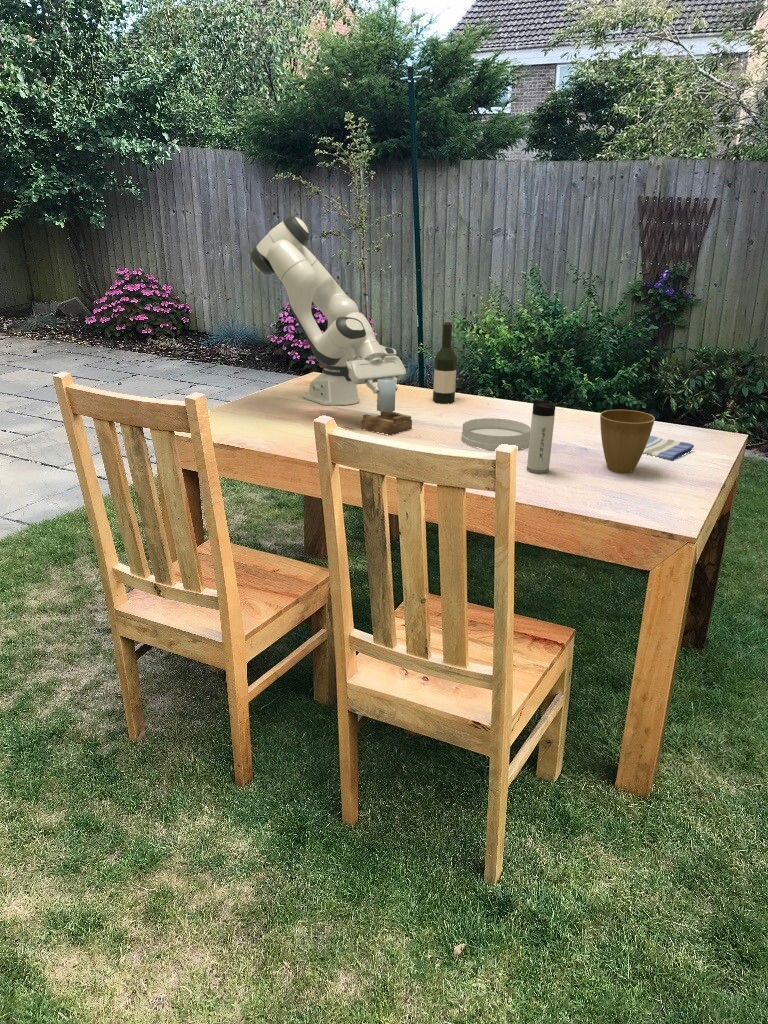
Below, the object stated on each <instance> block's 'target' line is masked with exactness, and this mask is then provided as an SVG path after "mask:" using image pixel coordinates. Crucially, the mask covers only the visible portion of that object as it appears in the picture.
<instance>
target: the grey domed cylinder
mask: <svg viewBox="0 0 768 1024" xmlns="http://www.w3.org/2000/svg"><path fill="white" fill-rule="evenodd" d="M376 383H377V385H376V386H378V389H379V392H378V393H376V411H378V412H380V413H381V412H395V410H396V392H397V391H396V385H397V384H396V380H395V379H392V378H380V379H378V382H376Z"/></svg>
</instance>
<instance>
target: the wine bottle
mask: <svg viewBox="0 0 768 1024" xmlns="http://www.w3.org/2000/svg"><path fill="white" fill-rule="evenodd" d="M452 333H453V324H452V322H451V321H444V322H443V324H442V336H441V337H442V340H441V341H442V343H441V348H440V349H439V351H438V352H437V354H436V355H435V357H434V365H433V366H434V371H433V386H432V387H433V390H432V402H433V401H434V402H433V403H435V404H439V403H440V405H449V404H448V403H452V404H453V402H454V403H455V400H456V399H455V398H456V384H457V383H456V382H457V381H456V379H457V365H458V364H457V363H458V358H457V356H456V354H455V352H454V350H453V348H452V337H453V335H452Z"/></svg>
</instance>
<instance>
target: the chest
mask: <svg viewBox="0 0 768 1024" xmlns="http://www.w3.org/2000/svg"><path fill="white" fill-rule="evenodd" d="M360 422H361V425H360V427H361V428H360V429H361V430H363V429H365V430H364V431H367V430H370V431H369V432H371V431H374V432H373V433H375V432H379V433H384V434H388V435H391V436H393V435H392V434H394V435H396V433H397V434H400V433H399V432H401V433H404V432H407V431H409V430H410V429H411V430H413V420H412V416H411V415H408V414H403V413H400V412H395V411H393V412H381V411H380V415H379V414H378V415H376V416H373V415H370V414H363V415H362V420H361V421H360ZM403 431H404V432H403ZM379 433H378V434H379Z"/></svg>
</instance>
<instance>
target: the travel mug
mask: <svg viewBox="0 0 768 1024" xmlns="http://www.w3.org/2000/svg"><path fill="white" fill-rule="evenodd" d="M531 403H532V404H533V405H532V413H531V422H530V428H531V430H530V441H529V446H528V452H527V462H526V463H527V465H526V470H527V471H528V472H529V473H533V474H539V475H540V474H546V473H548V472H549V471H550V465H551V464H550V463H551V456H552V455H551V454H552V444H553V434H554V427H555V425H554V424H555V417H556V404H554V403H552V402H550V401H547V400H538V399H534V400H532V402H531Z"/></svg>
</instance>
